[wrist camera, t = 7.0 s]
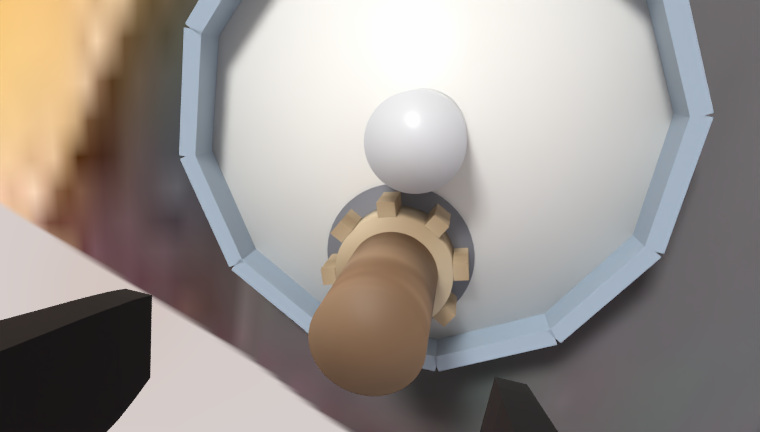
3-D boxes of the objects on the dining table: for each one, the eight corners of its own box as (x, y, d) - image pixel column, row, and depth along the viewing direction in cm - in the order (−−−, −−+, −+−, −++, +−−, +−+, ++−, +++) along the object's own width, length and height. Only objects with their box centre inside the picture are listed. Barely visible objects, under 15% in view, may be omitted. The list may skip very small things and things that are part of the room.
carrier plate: (805, 99, 15) (898, 106, 12) (445, 415, 21) (441, 480, 17) (394, -275, 15) (372, -378, 11) (131, 154, 20) (63, 170, 17)
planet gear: (498, 254, 17) (512, 342, 12) (408, 345, 19) (381, 461, 13) (388, 162, 17) (348, 206, 11) (307, 262, 19) (235, 344, 13)
